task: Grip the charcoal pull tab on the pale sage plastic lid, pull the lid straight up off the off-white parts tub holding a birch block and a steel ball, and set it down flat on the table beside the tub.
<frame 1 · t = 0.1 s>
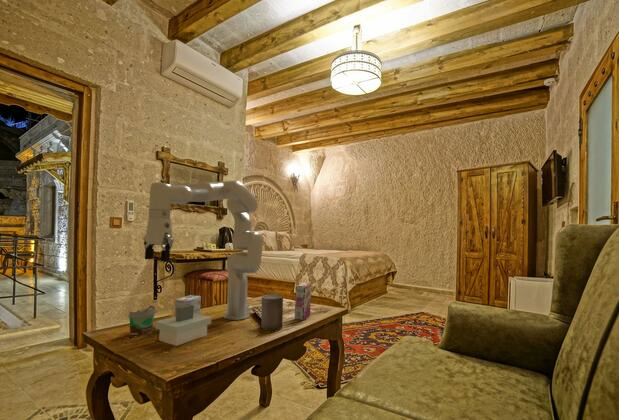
hand: (156, 260, 120), 31 cm above the table, tool pointing down, fingers open, 9 cm apart
candy bar box: (302, 317, 159), on the table
light bulb box: (187, 321, 148), on the table
tub: (183, 340, 122), on the table
steel ball: (175, 340, 120), point 1 cm above the table, touching tub
pillar candle: (271, 327, 142), on the table
birch block: (190, 335, 125), point 1 cm above the table, touching tub
lid: (184, 325, 123), point 5 cm above the table, touching tub
food container: (145, 334, 128), on the table
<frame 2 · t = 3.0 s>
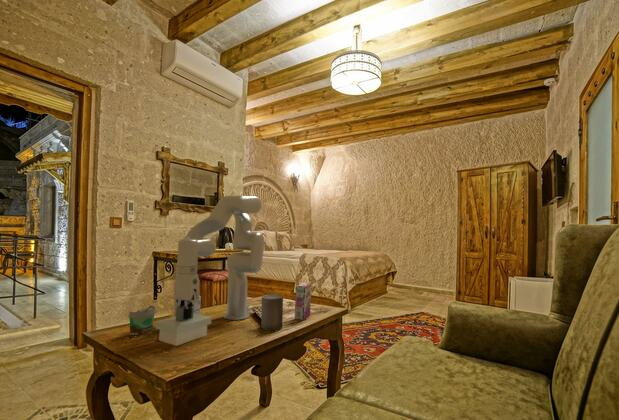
hand: (184, 317, 123), 9 cm above the table, tool pointing down, fingers closed on lid, 2 cm apart
lid: (184, 325, 123), point 6 cm above the table, touching gripper
everything else where it was.
when the fingers open (5 cm above the table, at t = 10.4 s): lid drops 1 cm, on the table.
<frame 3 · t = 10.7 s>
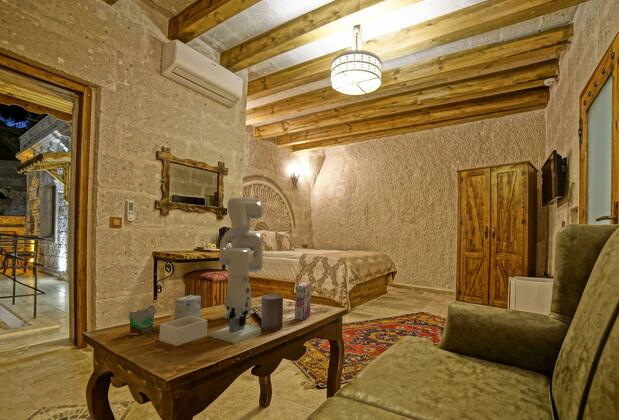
hand: (237, 324, 129), 5 cm above the table, tool pointing down, fingers open, 4 cm apart
lid: (236, 336, 129), on the table
everything else where it was.
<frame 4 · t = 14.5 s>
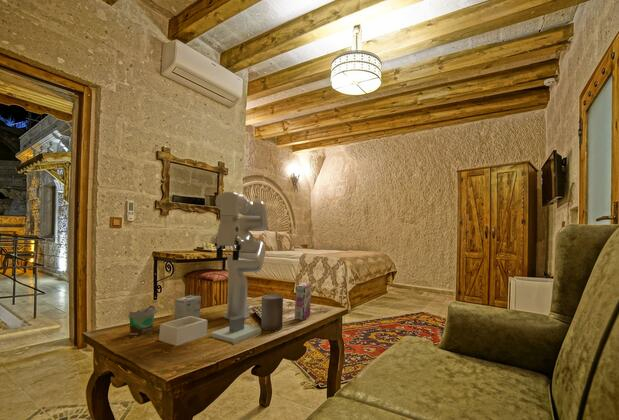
hand: (227, 259, 138), 30 cm above the table, tool pointing down, fingers open, 9 cm apart
nothing on the table moved.
at the end: lid inside the target area (0.1 cm from its centre), on the table; lid tilted 0°; lid touching table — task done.
